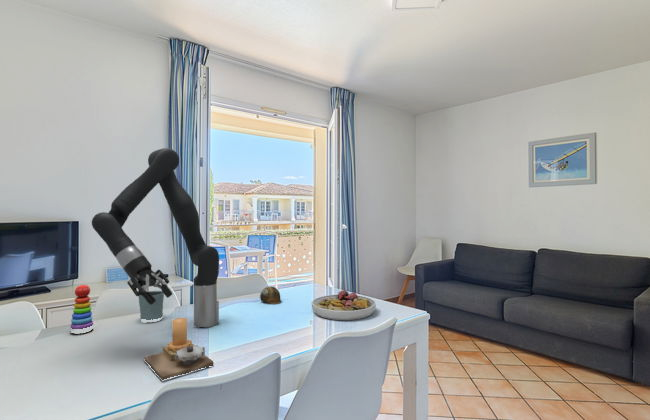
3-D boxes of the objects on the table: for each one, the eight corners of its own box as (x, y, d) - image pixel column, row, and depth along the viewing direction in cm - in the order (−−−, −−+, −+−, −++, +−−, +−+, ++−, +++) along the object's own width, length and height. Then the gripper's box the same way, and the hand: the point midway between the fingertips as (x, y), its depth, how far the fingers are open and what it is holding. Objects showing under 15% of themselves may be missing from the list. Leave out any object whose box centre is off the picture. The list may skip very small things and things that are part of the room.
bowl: (379, 322, 151) (379, 304, 151) (309, 322, 152) (309, 304, 152) (371, 304, 181) (371, 288, 181) (313, 304, 182) (313, 288, 182)
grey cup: (145, 325, 148) (145, 297, 148) (134, 321, 154) (134, 293, 154) (168, 319, 156) (168, 292, 156) (157, 315, 162) (156, 289, 162)
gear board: (191, 349, 123) (191, 331, 123) (213, 366, 109) (213, 346, 109) (144, 361, 113) (144, 342, 113) (162, 382, 99) (162, 360, 99)
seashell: (256, 302, 185) (256, 287, 185) (269, 298, 192) (269, 284, 192) (271, 306, 178) (271, 290, 178) (284, 302, 185) (284, 286, 185)
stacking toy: (65, 336, 136) (65, 287, 136) (74, 329, 143) (74, 283, 143) (89, 334, 138) (89, 286, 138) (96, 327, 146) (96, 282, 146)
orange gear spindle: (187, 347, 120) (186, 315, 120) (195, 353, 115) (195, 320, 115) (163, 353, 116) (163, 319, 115) (171, 360, 110) (171, 325, 110)
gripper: (125, 258, 112) (155, 298, 111) (155, 251, 126) (182, 287, 125) (110, 273, 114) (139, 312, 112) (141, 265, 128) (168, 300, 126)
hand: (162, 299), depth 118 cm, fingers open, 8 cm apart
